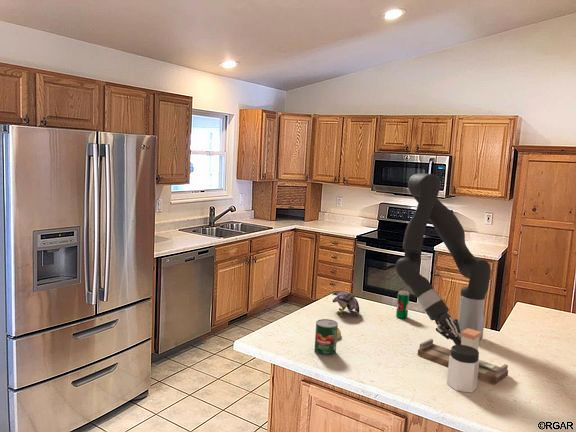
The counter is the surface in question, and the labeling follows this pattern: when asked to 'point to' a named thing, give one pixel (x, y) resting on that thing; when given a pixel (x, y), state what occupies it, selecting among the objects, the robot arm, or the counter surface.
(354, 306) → the bird figurine
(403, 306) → the soda can
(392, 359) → the counter surface
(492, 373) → the fader console
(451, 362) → the jar
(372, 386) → the counter surface
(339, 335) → the bread roll
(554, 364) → the counter surface
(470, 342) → the fader knob
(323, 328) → the canned tomato
